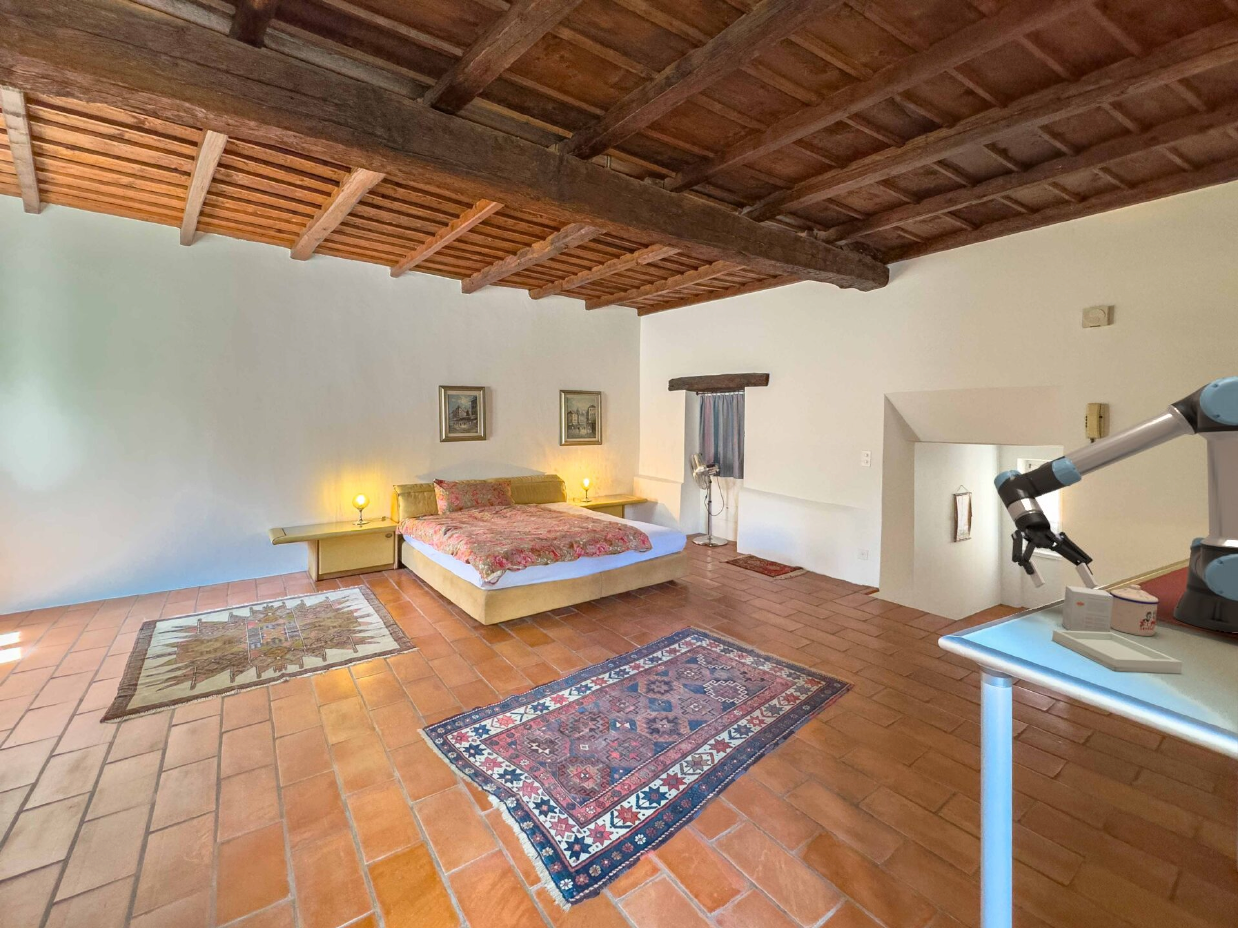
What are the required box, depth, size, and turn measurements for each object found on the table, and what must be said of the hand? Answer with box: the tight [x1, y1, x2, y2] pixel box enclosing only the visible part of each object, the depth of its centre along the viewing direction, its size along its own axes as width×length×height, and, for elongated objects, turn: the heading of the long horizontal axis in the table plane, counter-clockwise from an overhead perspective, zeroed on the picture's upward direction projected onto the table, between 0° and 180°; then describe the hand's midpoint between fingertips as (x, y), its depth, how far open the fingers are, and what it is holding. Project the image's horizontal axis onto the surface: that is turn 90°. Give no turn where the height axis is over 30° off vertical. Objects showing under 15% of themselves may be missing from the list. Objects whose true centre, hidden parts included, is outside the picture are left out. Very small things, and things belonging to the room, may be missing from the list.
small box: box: [1062, 585, 1113, 632], centre depth 135 cm, size 8×6×10 cm
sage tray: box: [1051, 629, 1183, 674], centre depth 121 cm, size 14×16×2 cm
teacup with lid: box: [1109, 584, 1160, 637], centre depth 139 cm, size 12×9×12 cm
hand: (1066, 586), depth 140 cm, fingers open, 13 cm apart
